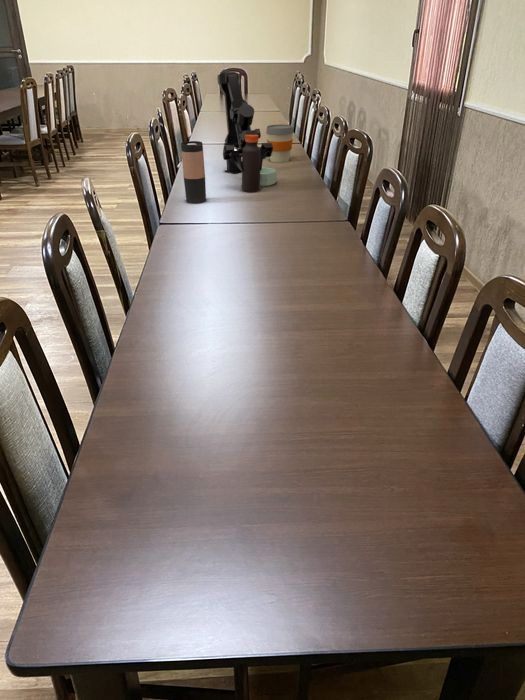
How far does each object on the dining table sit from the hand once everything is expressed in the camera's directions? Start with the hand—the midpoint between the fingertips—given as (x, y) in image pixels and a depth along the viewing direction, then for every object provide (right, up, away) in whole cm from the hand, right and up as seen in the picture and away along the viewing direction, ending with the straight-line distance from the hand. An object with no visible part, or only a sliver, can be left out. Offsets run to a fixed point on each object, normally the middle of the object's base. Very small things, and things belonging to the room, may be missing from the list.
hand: (251, 170), depth 202 cm
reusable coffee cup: (+12, +22, +52) cm, 58 cm away
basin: (+3, 0, +14) cm, 15 cm away
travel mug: (-20, -13, -6) cm, 25 cm away
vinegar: (0, -6, +5) cm, 8 cm away
